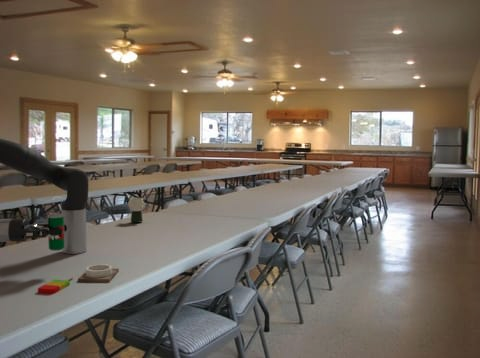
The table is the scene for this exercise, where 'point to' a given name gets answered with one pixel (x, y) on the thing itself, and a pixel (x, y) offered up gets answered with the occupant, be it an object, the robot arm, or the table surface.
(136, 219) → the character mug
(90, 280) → the socket plate
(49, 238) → the soda can
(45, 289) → the popsicle
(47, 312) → the table surface
